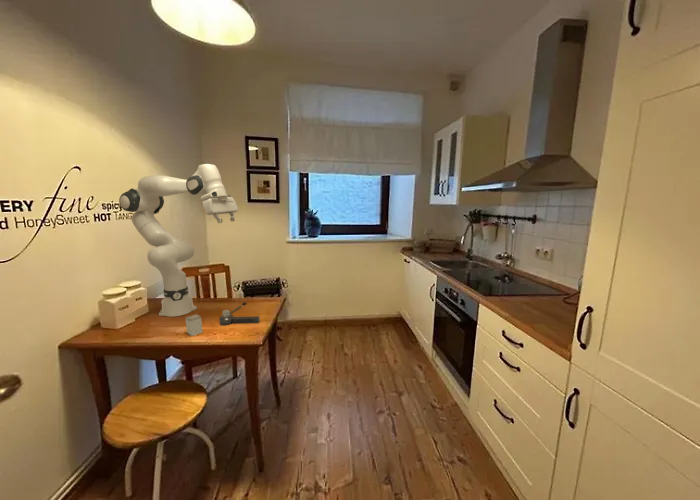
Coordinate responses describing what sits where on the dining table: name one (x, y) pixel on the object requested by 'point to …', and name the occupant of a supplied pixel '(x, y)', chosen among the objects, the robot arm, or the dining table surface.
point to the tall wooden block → (193, 325)
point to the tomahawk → (236, 308)
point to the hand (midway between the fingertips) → (227, 221)
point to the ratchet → (236, 319)
